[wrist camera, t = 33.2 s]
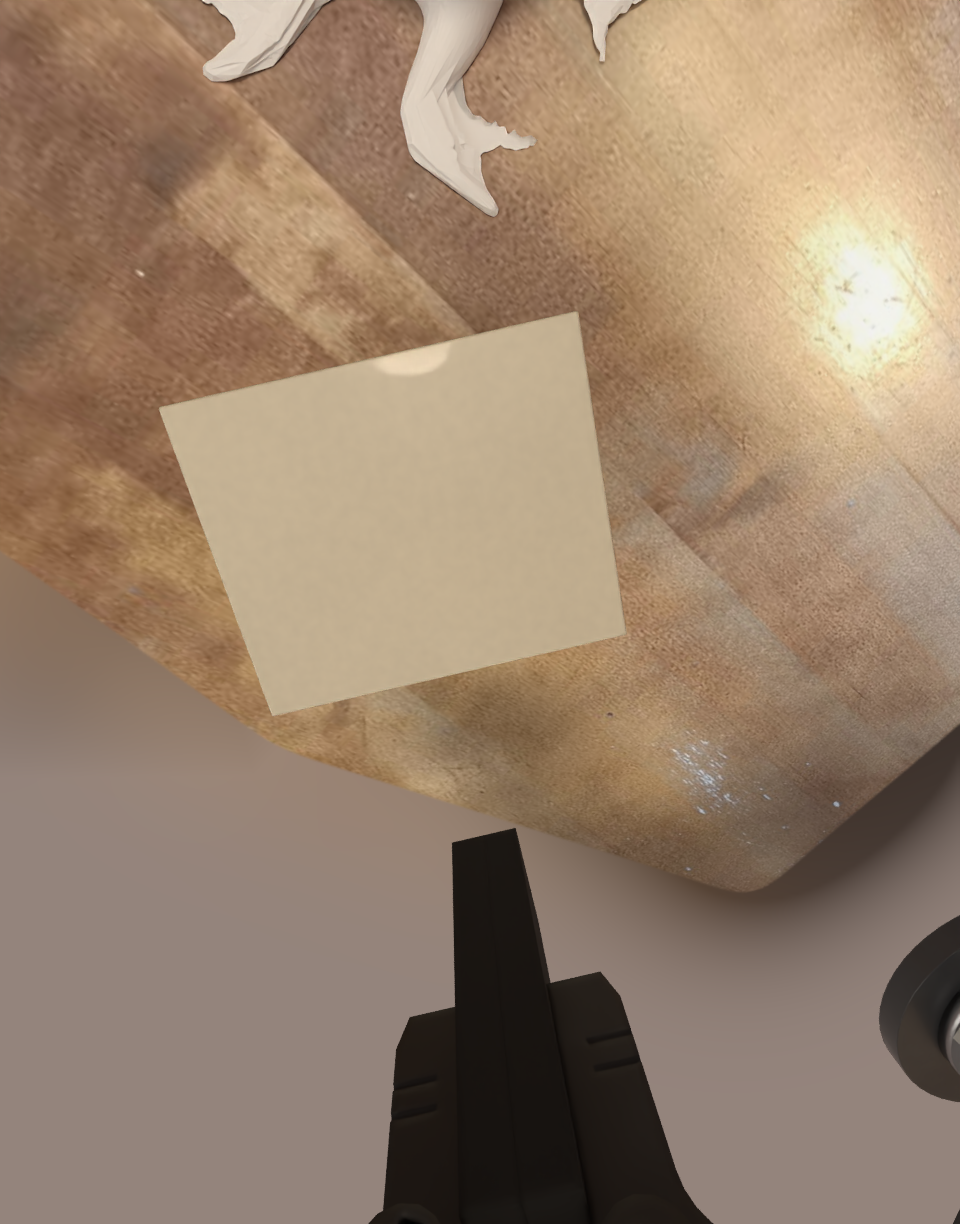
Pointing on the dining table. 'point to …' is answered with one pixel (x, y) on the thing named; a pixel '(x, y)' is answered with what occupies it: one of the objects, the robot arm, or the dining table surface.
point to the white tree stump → (434, 94)
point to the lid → (407, 512)
